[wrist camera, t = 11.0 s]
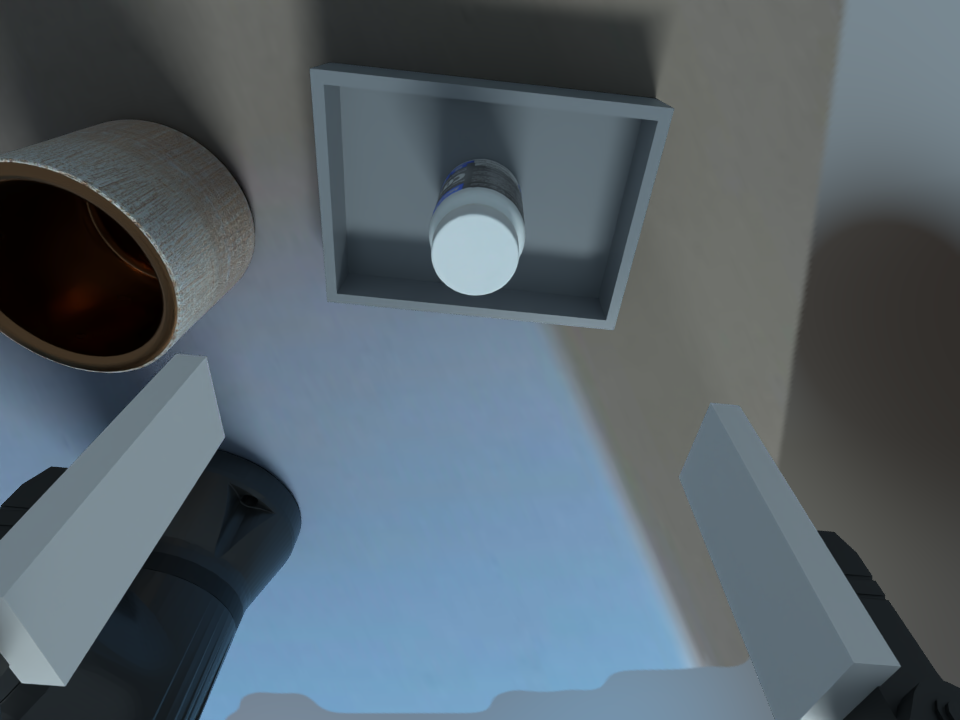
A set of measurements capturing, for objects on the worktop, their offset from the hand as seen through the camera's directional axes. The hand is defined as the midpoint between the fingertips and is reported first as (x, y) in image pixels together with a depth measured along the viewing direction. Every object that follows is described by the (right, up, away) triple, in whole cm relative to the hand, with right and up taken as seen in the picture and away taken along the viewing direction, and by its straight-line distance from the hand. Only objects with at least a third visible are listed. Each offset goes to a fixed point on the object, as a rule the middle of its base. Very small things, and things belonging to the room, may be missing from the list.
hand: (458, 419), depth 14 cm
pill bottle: (+1, +11, +16) cm, 20 cm away
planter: (-18, +11, +18) cm, 28 cm away
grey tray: (+1, +11, +17) cm, 20 cm away
